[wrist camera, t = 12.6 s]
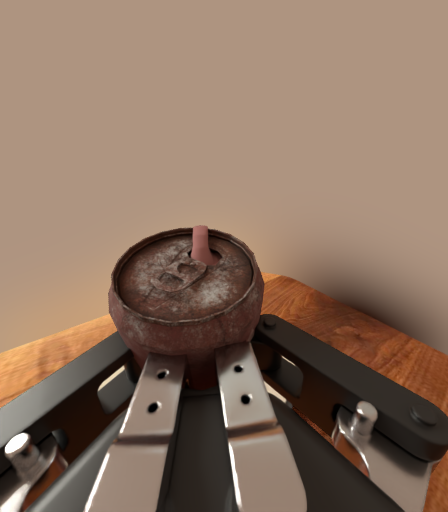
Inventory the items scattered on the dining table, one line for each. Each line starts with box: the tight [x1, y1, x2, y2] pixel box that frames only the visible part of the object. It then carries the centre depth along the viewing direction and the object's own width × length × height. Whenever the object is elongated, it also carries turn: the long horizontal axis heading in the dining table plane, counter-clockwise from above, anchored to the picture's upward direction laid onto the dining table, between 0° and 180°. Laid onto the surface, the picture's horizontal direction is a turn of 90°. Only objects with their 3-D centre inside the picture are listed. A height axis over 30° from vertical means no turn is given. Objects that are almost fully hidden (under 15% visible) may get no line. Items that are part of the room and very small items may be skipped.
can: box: [108, 225, 264, 390], centre depth 13 cm, size 6×6×14 cm
